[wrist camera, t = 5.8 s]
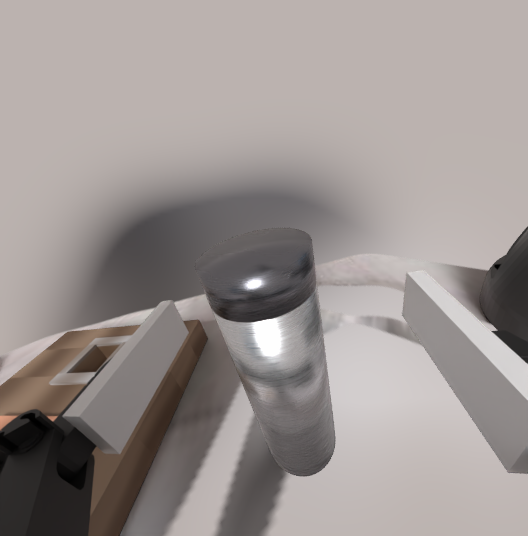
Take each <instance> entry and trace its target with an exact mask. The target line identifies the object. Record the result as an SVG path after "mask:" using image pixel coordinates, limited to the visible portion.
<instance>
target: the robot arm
mask: <svg viewBox="0 0 528 536" xmlns="http://www.w3.org/2000/svg"><path fill="white" fill-rule="evenodd" d="M480 304H481V307H482V310H483V312H484V314H485V315H486V317H487V318H488V320H489V321H490V322H491V323H492V325H493V326H494V327H495V328H496V329H497V330H498V331H490V330H489V329H488V328H487V327H486V326H485V325H484V324H483V323H482V322H480V321H479V320H478V319H477V318H476V317H475V316H474V315H473V314H472V313H470V312H469V311H468V310H467V309H466V308H465V307H464V306H463V305H462V304H460V303H459V302H458V301H457V300H456V299H455V298H454V297H453V296H452V295H451V294H449V293H448V292H447V291H446V290H445V289H444V288H443V287H442V286H441V285H439V284H438V283H437V282H436V281H435V280H434V279H433V278H432V277H431V276H430V275H428V274H427V273H426V272H425V271H424V270H423V271H415V272H407V274H406V283H405V293H404V303H403V313H402V316H403V317H404V319H405V320H406V322H407V323H408V325H409V326H410V328H411V329H412V330H413V332H414V333H415V335H416V336H417V338H418V339H419V341H420V342H421V344H422V345H423V347H424V348H425V350H426V351H427V353H428V354H429V355H430V357H431V359H432V360H433V362H434V363H435V365H436V366H437V368H438V369H439V370H440V372H441V374H442V375H443V377H444V378H445V379H446V381H447V382H448V384H449V385H450V387H451V388H452V390H453V391H454V393H455V394H456V396H457V397H458V399H459V400H460V402H461V403H462V405H463V406H464V408H465V409H466V411H467V412H468V414H469V415H470V417H471V418H472V420H473V421H474V422H475V424H476V426H477V427H478V429H479V430H480V432H481V433H482V435H483V436H484V437H485V439H486V440H487V442H488V443H489V445H490V446H491V448H492V449H493V451H494V452H495V454H496V455H497V457H498V458H499V460H500V461H501V463H502V464H503V466H504V467H505V469H506V470H507V472H508V473H525V474H528V227H527V228H526V229H525V230H524V231H523V233H522V234H521V235H520V236H519V237H518V239H517V240H516V241H515V243H514V244H513V245H512V247H511V248H510V249H509V251H508V253H507V255H505V256H503V257H502V258H500V259H499V260H497V261H496V262H495V263H494V264H493V266H492V267H491V268H490V269H489V271H488V273H487V275H486V278H485V281H484V284H483V287H482V291H481V294H480ZM188 333H189V332H188V330H187V328H186V326H185V324H184V322H183V320H182V318H181V316H180V314H179V312H178V310H177V308H176V306H175V304H174V302H173V300H169V301H162V302H160V304H159V305H158V306H157V307H156V308H155V309H154V311H153V312H152V313H151V314H150V315H149V316H148V317H147V319H146V320H145V321H144V322H143V323H142V324H141V326H140V327H139V328H138V329H137V330H136V331H135V333H134V334H133V335H132V336H131V337H130V338H129V339H128V341H127V342H126V343H125V344H124V345H123V346H122V348H121V349H120V350H119V351H118V352H117V353H116V354H115V356H113V357H112V358H111V359H110V360H108V361H107V362H106V363H105V364H104V365H103V366H102V367H101V368H100V369H99V370H98V371H97V372H96V374H95V376H94V377H92V378H91V379H90V380H89V382H88V383H87V385H85V386H84V387H83V388H82V389H81V391H80V392H79V393H78V394H77V395H76V396H75V397H74V399H73V400H72V401H71V402H70V403H69V404H68V405H67V407H66V408H65V409H64V410H63V411H62V412H61V413H60V414H59V416H58V417H57V418H56V419H55V420H54V421H52V420H50V419H49V418H48V417H47V416H45V415H44V414H43V413H42V412H41V411H39V410H38V409H32V410H29V411H27V412H24V413H22V414H21V415H19V416H18V417H16V418H14V419H13V420H12V421H10V422H9V423H8V424H7V425H6V426H4V427H3V428H2V429H1V430H0V536H88V533H89V522H90V511H91V499H92V488H93V477H94V465H95V458H94V455H93V454H92V452H93V451H94V449H95V448H96V446H97V447H98V448H99V449H100V450H101V451H102V452H104V453H106V454H121V452H122V450H123V448H124V446H125V445H126V443H127V441H128V439H129V438H130V436H131V434H132V432H133V431H134V429H135V427H136V425H137V423H138V422H139V420H140V418H141V416H142V415H143V413H144V411H145V409H146V408H147V406H148V404H149V402H150V400H151V399H152V397H153V395H154V393H155V392H156V390H157V388H158V386H159V385H160V383H161V381H162V379H163V377H164V376H165V374H166V372H167V370H168V369H169V367H170V365H171V363H172V362H173V360H174V358H175V356H176V354H177V353H178V351H179V349H180V347H181V346H182V344H183V342H184V340H185V339H186V337H187V335H188Z"/></svg>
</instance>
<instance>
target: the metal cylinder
mask: <svg viewBox="0 0 528 536" xmlns="http://www.w3.org/2000/svg"><path fill="white" fill-rule="evenodd" d="M195 270H196V272H197V274H198V277H199V279H200V282H201V284H202V287H203V289H204V292H205V294H206V296H207V299H208V301H209V304H210V306H211V309H212V311H213V313H214V316H215V318H216V321H217V323H218V326H219V328H220V330H221V333H222V335H223V338H224V340H225V343H226V345H227V347H228V350H229V352H230V355H231V357H232V360H233V362H234V365H235V367H236V369H237V372H238V374H239V377H240V379H241V382H242V384H243V386H244V389H245V391H246V393H247V396H248V398H249V401H250V403H251V406H252V408H253V411H254V413H255V416H256V418H257V420H258V423H259V425H260V428H261V430H262V433H263V435H264V437H265V440H266V442H267V445H268V447H269V450H270V452H271V454H272V456H273V458H274V460H275V461H276V462H277V464H278V465H279V466H280V467H281V468H282V469H284V470H285V471H286V472H288V473H290V474H293V475H296V476H310V475H313V474H316V473H317V472H319V471H321V470H322V469H323V468H324V467H325V466H326V465H327V464H328V462H329V461H330V459H331V457H332V455H333V452H334V448H335V430H334V421H333V413H332V405H331V397H330V389H329V380H328V372H327V363H326V355H325V347H324V339H323V330H322V322H321V313H320V305H319V297H318V289H317V280H316V272H315V263H314V255H313V248H312V239H311V237H310V236H309V234H307V233H306V232H304V231H301V230H297V229H291V228H272V229H264V230H257V231H253V232H248V233H245V234H242V235H238V236H235V237H232V238H230V239H227V240H225V241H223V242H221V243H219V244H217V245H215V246H213V247H212V248H210V249H208V250H207V251H206V252H205V253H203V254H202V255H201V256H200V257H199V259H198V260H197V262H196V265H195Z"/></svg>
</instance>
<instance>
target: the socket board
mask: <svg viewBox="0 0 528 536" xmlns="http://www.w3.org/2000/svg"><path fill="white" fill-rule="evenodd" d="M183 322H184V324H185V326H186V328H187V330H188V332H189V333H188V335H187V337H186V339H185V340H184V342H183V344H182V346H181V347H180V349H179V351H178V353H177V354H176V356H175V358H174V360H173V362H172V363H171V365H170V367H169V369H168V370H167V372H166V374H165V376H164V377H163V379H162V381H161V383H160V385H159V386H158V388H157V390H156V392H155V393H154V395H153V397H152V399H151V400H150V402H149V404H148V406H147V408H146V409H145V411H144V413H143V415H142V416H141V418H140V420H139V422H138V423H137V425H136V427H135V429H134V431H133V432H132V434H131V436H130V438H129V439H128V441H127V443H126V445H125V446H124V448H123V450H122V452H121V454H106V453H104V452H102V451H101V450H100V449H99V448H98V447H97V446H96V448H95V449H94V451H93V452H92V454H93V455H94V458H95V465H94V477H93V488H92V499H91V511H90V522H89V533H88V536H119V534H120V532H121V530H122V528H123V526H124V523H125V521H126V519H127V517H128V515H129V512H130V510H131V508H132V506H133V503H134V501H135V499H136V497H137V495H138V492H139V490H140V488H141V486H142V483H143V481H144V479H145V477H146V475H147V472H148V470H149V468H150V466H151V463H152V461H153V459H154V457H155V455H156V452H157V450H158V448H159V446H160V443H161V441H162V439H163V437H164V435H165V432H166V430H167V428H168V426H169V423H170V421H171V419H172V417H173V415H174V412H175V410H176V408H177V406H178V403H179V401H180V399H181V397H182V395H183V392H184V390H185V388H186V386H187V383H188V381H189V379H190V377H191V375H192V372H193V370H194V368H195V366H196V364H197V361H198V359H199V357H200V355H201V352H202V350H203V348H204V346H205V344H206V341H207V339H208V338H207V336H206V334H205V332H204V329H203V327H202V325H201V323H200V321H199V320H191V321H183ZM140 326H141V325H136V326H125V327H115V328H104V329H93V330H82V331H71V332H67V333H65V334H64V335H63V336H62V337H60V338H59V339H58V340H57V341H55V342H54V343H53V344H52V345H51V346H49V347H48V348H47V349H46V350H44V351H43V352H42V353H41V354H39V355H38V356H37V357H36V358H34V359H33V360H32V361H31V362H29V363H28V364H27V365H26V366H24V367H23V368H22V369H21V370H19V371H18V372H17V373H16V374H15V375H13V376H12V377H11V378H10V379H8V380H7V381H6V382H5V383H3V384H2V385H1V386H0V430H1V429H2V428H3V427H4V426H6V425H7V424H8V423H9V422H10V421H12V420H13V419H14V418H16V417H18V416H19V415H21V414H22V413H24V412H27V411H29V410H32V409H38V410H39V411H41V412H42V413H43V414H44V415H45V416H47V417H48V418H49V419H50V420H52V421H54V420H55V419H56V418H57V417H58V416H59V414H60V413H61V412H62V411H63V410H64V409H65V408H66V407H67V405H68V404H69V403H70V402H71V401H72V400H73V399H74V397H75V396H76V395H77V394H78V393H79V392H80V391H81V389H82V388H83V387H84V386H85V385H87V383H88V382H89V380H90V379H91V378H92V377H94V376H95V374H96V372H97V371H98V370H99V369H100V368H101V367H102V366H103V365H104V364H105V363H106V362H107V361H108V360H110V359H111V358H112V357H113V356H115V354H116V353H117V352H118V351H119V350H120V349H121V348H122V346H123V345H124V344H125V343H126V342H127V341H128V339H129V338H130V337H131V336H132V335H133V334H134V333H135V331H136V330H137V329H138V328H139V327H140Z"/></svg>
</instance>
